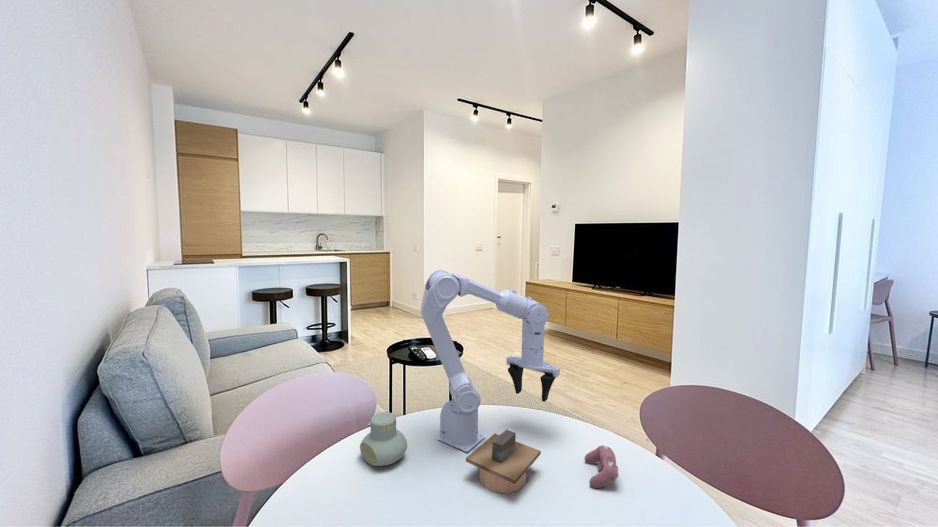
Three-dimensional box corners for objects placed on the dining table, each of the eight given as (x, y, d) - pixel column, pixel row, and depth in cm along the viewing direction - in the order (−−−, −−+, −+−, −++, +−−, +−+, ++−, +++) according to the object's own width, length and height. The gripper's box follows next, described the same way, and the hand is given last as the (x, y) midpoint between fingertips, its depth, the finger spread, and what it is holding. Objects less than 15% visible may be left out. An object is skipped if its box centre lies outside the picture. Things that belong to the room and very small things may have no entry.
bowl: (470, 479, 80) (471, 462, 79) (494, 456, 88) (495, 440, 87) (511, 499, 74) (511, 480, 73) (533, 472, 82) (533, 455, 82)
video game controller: (607, 498, 76) (625, 472, 75) (587, 486, 77) (604, 460, 76) (600, 468, 86) (615, 444, 85) (582, 458, 87) (597, 434, 86)
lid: (465, 461, 79) (466, 440, 79) (494, 436, 89) (495, 417, 89) (514, 484, 72) (515, 461, 72) (540, 454, 82) (541, 433, 82)
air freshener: (356, 455, 88) (355, 415, 87) (385, 441, 94) (385, 403, 93) (381, 477, 80) (381, 433, 79) (412, 460, 86) (411, 419, 85)
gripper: (564, 347, 96) (563, 397, 97) (515, 337, 104) (514, 384, 105) (554, 355, 90) (552, 408, 91) (502, 344, 98) (502, 392, 100)
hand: (531, 396), depth 98 cm, fingers open, 7 cm apart
